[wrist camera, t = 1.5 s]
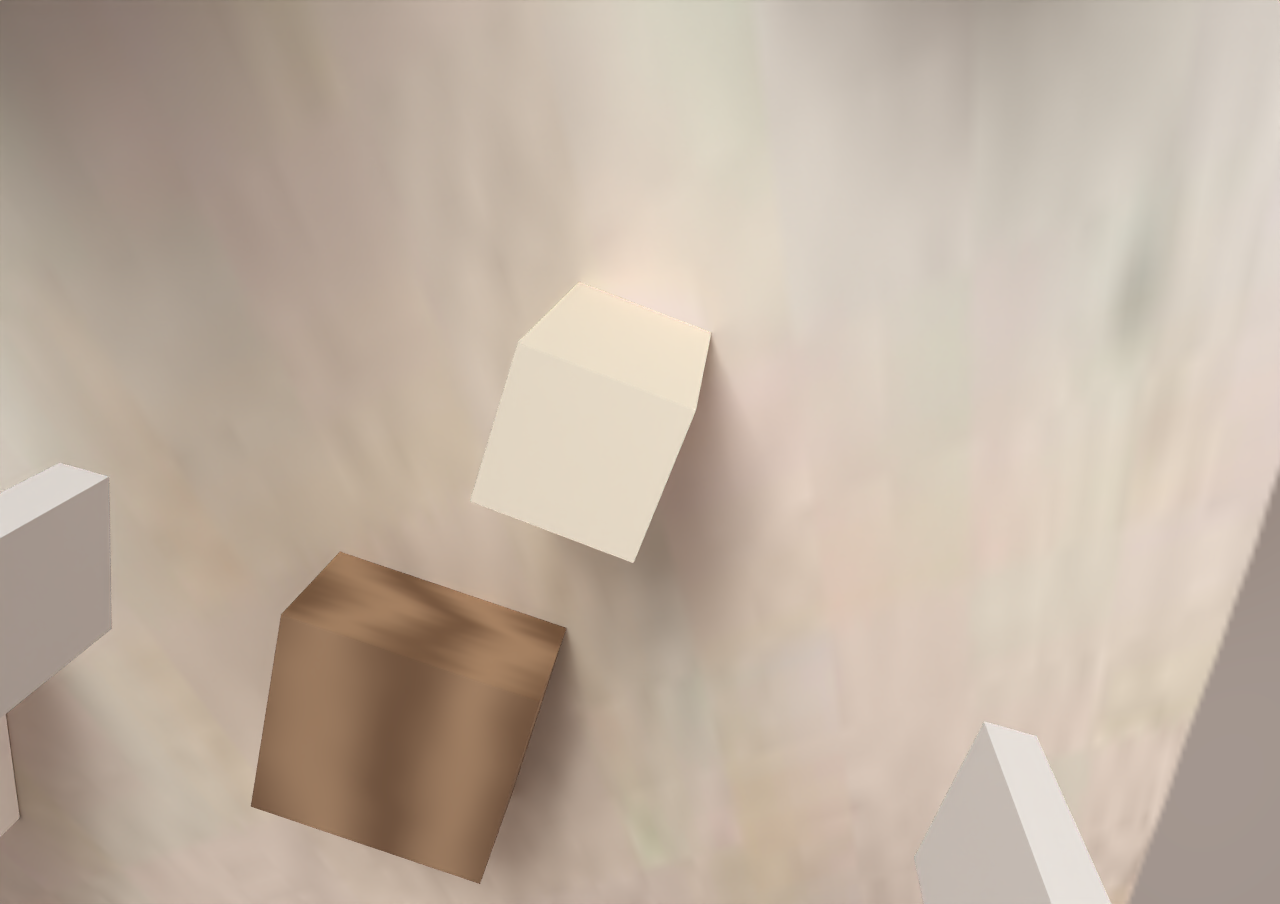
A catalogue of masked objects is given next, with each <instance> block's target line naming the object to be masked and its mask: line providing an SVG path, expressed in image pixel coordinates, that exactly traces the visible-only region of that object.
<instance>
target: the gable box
mask: <svg viewBox="0 0 1280 904" xmlns="http://www.w3.org/2000/svg"><path fill="white" fill-rule="evenodd" d="M19 817H20V816H19V808H18V801H17V793H16V786H15V779H14V771H13V764H12V756H11V749H10V742H9V734H8V727H7V719H6V714H5V715H4V716H2V717H1V718H0V837H1V836H2V835H3V834H4V833H5V832H6V831H7V830H8V829H9V828H10V827H11V826H12V825H13V824H14V823H15V822H16V821H17V820H18V819H19Z"/></svg>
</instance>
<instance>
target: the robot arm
mask: <svg viewBox="0 0 1280 904" xmlns="http://www.w3.org/2000/svg"><path fill="white" fill-rule="evenodd" d="M111 629H112V619H111V558H110V497H109V476H106V475H102V474H98V473H95V472H91V471H88V470H84V469H81V468H77V467H73V466H70V465H66V464H63V463H58V464H56V465H54V466H52V467H50V468H48V469H46V470H44V471H42V472H40V473H38V474H36V475H34V476H32V477H30V478H28V479H26V480H24V481H22V482H20V483H18V484H16V485H15V486H13V487H11V488H9V489H7V490H5V491H3V492H1V493H0V718H1V717H2V716H4V715H5V714H6V713H7V712H9V711H10V710H11V709H12V708H14V707H15V706H16V705H17V704H19V703H20V702H21V701H22V700H24V699H25V698H26V697H27V696H29V695H30V694H31V693H32V692H33V691H35V690H36V689H37V688H38V687H40V686H41V685H42V684H43V683H45V682H46V681H47V680H48V679H50V678H51V677H52V676H53V675H55V674H56V673H57V672H58V671H60V670H61V669H62V668H63V667H65V666H66V665H67V664H68V663H70V662H71V661H72V660H73V659H75V658H76V657H77V656H78V655H79V654H81V653H82V652H83V651H84V650H86V649H87V648H88V647H89V646H91V645H92V644H93V643H94V642H96V641H97V640H98V639H99V638H101V637H102V636H103V635H104V634H106V633H107V632H108V631H109V630H111ZM914 860H915V865H916V869H917V874H918V879H919V884H920V889H921V893H922V898H923V903H924V904H1111V902H1110V900H1109V898H1108V895H1107V893H1106V891H1105V889H1104V886H1103V884H1102V882H1101V880H1100V877H1099V875H1098V873H1097V871H1096V868H1095V866H1094V864H1093V862H1092V859H1091V857H1090V855H1089V853H1088V850H1087V848H1086V846H1085V844H1084V841H1083V839H1082V837H1081V835H1080V832H1079V830H1078V828H1077V826H1076V824H1075V821H1074V819H1073V817H1072V815H1071V812H1070V810H1069V808H1068V806H1067V803H1066V801H1065V799H1064V797H1063V794H1062V792H1061V790H1060V788H1059V785H1058V783H1057V781H1056V779H1055V776H1054V774H1053V772H1052V770H1051V767H1050V765H1049V763H1048V761H1047V758H1046V756H1045V754H1044V752H1043V750H1042V747H1041V745H1040V743H1039V741H1038V738H1037V736H1034V735H1031V734H1027V733H1024V732H1020V731H1017V730H1013V729H1009V728H1006V727H1002V726H999V725H995V724H992V723H988V722H983V724H982V726H981V728H980V730H979V732H978V734H977V736H976V738H975V740H974V742H973V743H972V745H971V747H970V749H969V751H968V753H967V755H966V757H965V759H964V761H963V763H962V765H961V767H960V769H959V771H958V773H957V775H956V776H955V778H954V780H953V782H952V784H951V786H950V788H949V790H948V792H947V794H946V796H945V798H944V800H943V802H942V804H941V806H940V808H939V809H938V811H937V813H936V815H935V817H934V819H933V821H932V823H931V825H930V827H929V829H928V831H927V833H926V835H925V837H924V839H923V841H922V842H921V844H920V846H919V848H918V850H917V852H916V854H915V856H914Z"/></svg>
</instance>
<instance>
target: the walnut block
mask: <svg viewBox="0 0 1280 904" xmlns="http://www.w3.org/2000/svg"><path fill="white" fill-rule="evenodd" d="M565 631H566V628H565V627H562V626H559V625H556V624H553V623H550V622H547V621H544V620H541V619H538V618H535V617H532V616H529V615H526V614H523V613H520V612H517V611H514V610H511V609H508V608H505V607H503V606H500V605H497V604H494V603H491V602H488V601H485V600H482V599H479V598H476V597H473V596H470V595H467V594H464V593H461V592H458V591H455V590H452V589H449V588H446V587H443V586H440V585H437V584H434V583H431V582H428V581H425V580H422V579H419V578H416V577H413V576H411V575H408V574H405V573H402V572H399V571H396V570H393V569H390V568H387V567H384V566H381V565H378V564H375V563H372V562H369V561H366V560H363V559H360V558H357V557H354V556H351V555H348V554H345V553H342V552H339V553H338V555H337V556H336V557H335V558H334V559H333V560H332V561H331V562H330V563H329V564H328V565H327V566H326V567H325V568H324V569H323V570H322V572H321V573H320V574H319V575H318V576H317V577H316V578H315V579H314V580H313V581H312V582H311V583H310V584H309V585H308V586H307V588H306V589H305V590H304V591H303V592H302V593H301V594H300V595H299V596H298V597H297V598H296V599H295V600H294V601H293V602H292V604H291V605H290V606H289V607H288V608H287V609H286V610H285V611H284V612H283V613H282V614H281V619H280V625H279V632H278V638H277V644H276V651H275V657H274V663H273V670H272V676H271V682H270V689H269V695H268V701H267V708H266V714H265V720H264V727H263V733H262V739H261V746H260V752H259V758H258V765H257V771H256V777H255V784H254V790H253V796H252V803H251V807H254V808H257V809H260V810H263V811H266V812H269V813H272V814H275V815H278V816H281V817H284V818H287V819H290V820H293V821H296V822H298V823H301V824H304V825H307V826H310V827H313V828H316V829H319V830H322V831H325V832H328V833H331V834H334V835H337V836H340V837H343V838H346V839H349V840H352V841H355V842H358V843H361V844H364V845H367V846H370V847H373V848H375V849H378V850H381V851H384V852H387V853H390V854H393V855H396V856H399V857H402V858H405V859H408V860H411V861H414V862H417V863H420V864H423V865H426V866H429V867H432V868H435V869H438V870H441V871H444V872H447V873H449V874H452V875H455V876H458V877H461V878H464V879H467V880H470V881H473V882H476V883H479V884H480V882H481V879H482V877H483V874H484V871H485V868H486V865H487V862H488V860H489V857H490V854H491V851H492V848H493V846H494V843H495V840H496V837H497V834H498V832H499V829H500V826H501V823H502V820H503V818H504V815H505V812H506V809H507V806H508V804H509V801H510V798H511V795H512V792H513V789H514V786H515V783H516V780H517V777H518V774H519V771H520V768H521V765H522V762H523V759H524V755H525V752H526V749H527V746H528V743H529V740H530V737H531V734H532V731H533V728H534V725H535V722H536V719H537V716H538V713H539V710H540V707H541V704H542V701H543V698H544V695H545V692H546V689H547V686H548V682H549V679H550V676H551V673H552V670H553V667H554V664H555V661H556V658H557V655H558V652H559V649H560V646H561V643H562V640H563V637H564V634H565Z"/></svg>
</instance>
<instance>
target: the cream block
mask: <svg viewBox="0 0 1280 904" xmlns="http://www.w3.org/2000/svg"><path fill="white" fill-rule="evenodd" d="M710 337H711V332H709V331H706V330H704V329H701V328H698V327H696V326H693V325H691V324H688V323H685V322H683V321H680V320H678V319H675V318H672V317H670V316H667V315H664V314H662V313H659V312H657V311H654V310H651V309H649V308H646V307H644V306H641V305H638V304H636V303H633V302H630V301H628V300H625V299H623V298H620V297H617V296H615V295H612V294H610V293H607V292H604V291H602V290H599V289H596V288H594V287H591V286H589V285H586V284H583V283H581V282H578V283H577V284H576V285H575V286H574V287H573V288H572V289H571V290H570V291H569V292H568V293H567V294H566V295H565V296H564V297H563V298H562V299H561V300H560V301H559V302H558V303H557V304H556V305H555V306H554V307H553V308H552V309H551V310H550V311H549V312H548V313H547V314H546V315H545V316H544V317H543V318H542V319H541V320H540V321H539V322H538V323H537V324H536V325H535V326H534V327H533V328H532V329H531V330H530V331H529V332H528V333H527V334H526V335H525V336H524V337H523V338H522V339H521V340H520V341H519V342H518V343H517V346H516V350H515V353H514V356H513V360H512V363H511V366H510V370H509V373H508V376H507V380H506V383H505V386H504V389H503V393H502V396H501V399H500V403H499V406H498V409H497V413H496V416H495V419H494V423H493V426H492V429H491V432H490V436H489V439H488V442H487V446H486V449H485V452H484V456H483V459H482V462H481V466H480V469H479V472H478V475H477V479H476V482H475V485H474V489H473V492H472V495H471V499H470V502H472V503H475V504H478V505H480V506H483V507H486V508H488V509H491V510H494V511H496V512H499V513H502V514H504V515H507V516H510V517H512V518H515V519H518V520H520V521H523V522H525V523H528V524H531V525H533V526H536V527H539V528H541V529H544V530H547V531H549V532H552V533H555V534H557V535H560V536H563V537H565V538H568V539H571V540H573V541H576V542H579V543H581V544H584V545H587V546H589V547H592V548H594V549H597V550H600V551H602V552H605V553H608V554H610V555H613V556H616V557H618V558H621V559H624V560H626V561H629V562H632V563H634V561H635V558H636V556H637V553H638V551H639V549H640V546H641V544H642V541H643V539H644V536H645V534H646V531H647V529H648V527H649V524H650V522H651V519H652V517H653V514H654V512H655V509H656V507H657V505H658V502H659V500H660V497H661V495H662V492H663V490H664V487H665V485H666V483H667V480H668V478H669V475H670V473H671V470H672V468H673V465H674V463H675V460H676V458H677V456H678V453H679V451H680V448H681V446H682V443H683V441H684V438H685V436H686V434H687V431H688V429H689V426H690V424H691V421H692V419H693V416H694V414H695V412H696V408H697V403H698V398H699V393H700V388H701V383H702V378H703V373H704V368H705V363H706V357H707V352H708V347H709V342H710Z"/></svg>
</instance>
